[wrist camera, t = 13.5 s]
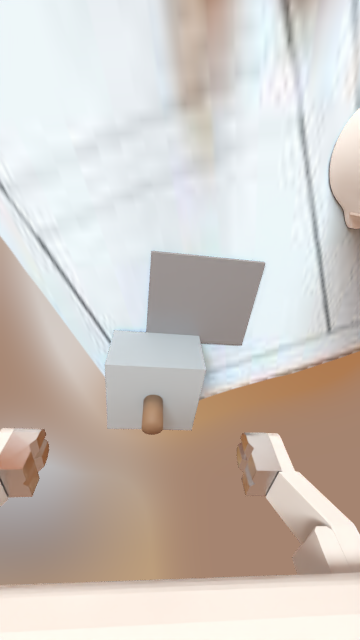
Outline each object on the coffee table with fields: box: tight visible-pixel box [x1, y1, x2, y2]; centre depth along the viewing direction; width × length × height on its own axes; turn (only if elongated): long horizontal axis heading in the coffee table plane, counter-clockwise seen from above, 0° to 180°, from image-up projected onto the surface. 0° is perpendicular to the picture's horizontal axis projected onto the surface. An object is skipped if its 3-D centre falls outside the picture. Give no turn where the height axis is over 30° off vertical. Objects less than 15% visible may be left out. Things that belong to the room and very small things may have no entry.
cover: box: [105, 330, 206, 435], centre depth 45 cm, size 15×15×14 cm
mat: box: [146, 251, 265, 345], centre depth 44 cm, size 18×16×1 cm
